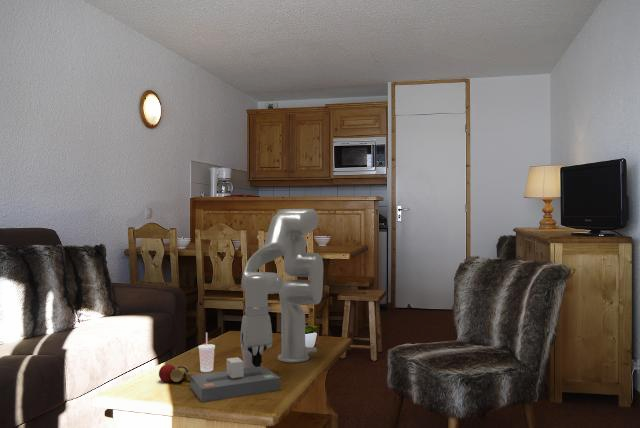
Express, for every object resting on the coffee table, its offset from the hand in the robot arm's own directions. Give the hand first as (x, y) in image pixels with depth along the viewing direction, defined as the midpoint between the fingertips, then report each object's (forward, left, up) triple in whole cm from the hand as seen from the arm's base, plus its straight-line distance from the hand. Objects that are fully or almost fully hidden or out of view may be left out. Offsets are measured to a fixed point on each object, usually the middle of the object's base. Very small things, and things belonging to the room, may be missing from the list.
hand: (256, 365), depth 184 cm
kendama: (+21, -16, -7) cm, 27 cm away
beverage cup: (+11, -26, -7) cm, 29 cm away
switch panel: (+8, -2, -7) cm, 10 cm away
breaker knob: (+8, 0, -2) cm, 8 cm away
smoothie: (-3, -18, -7) cm, 20 cm away
